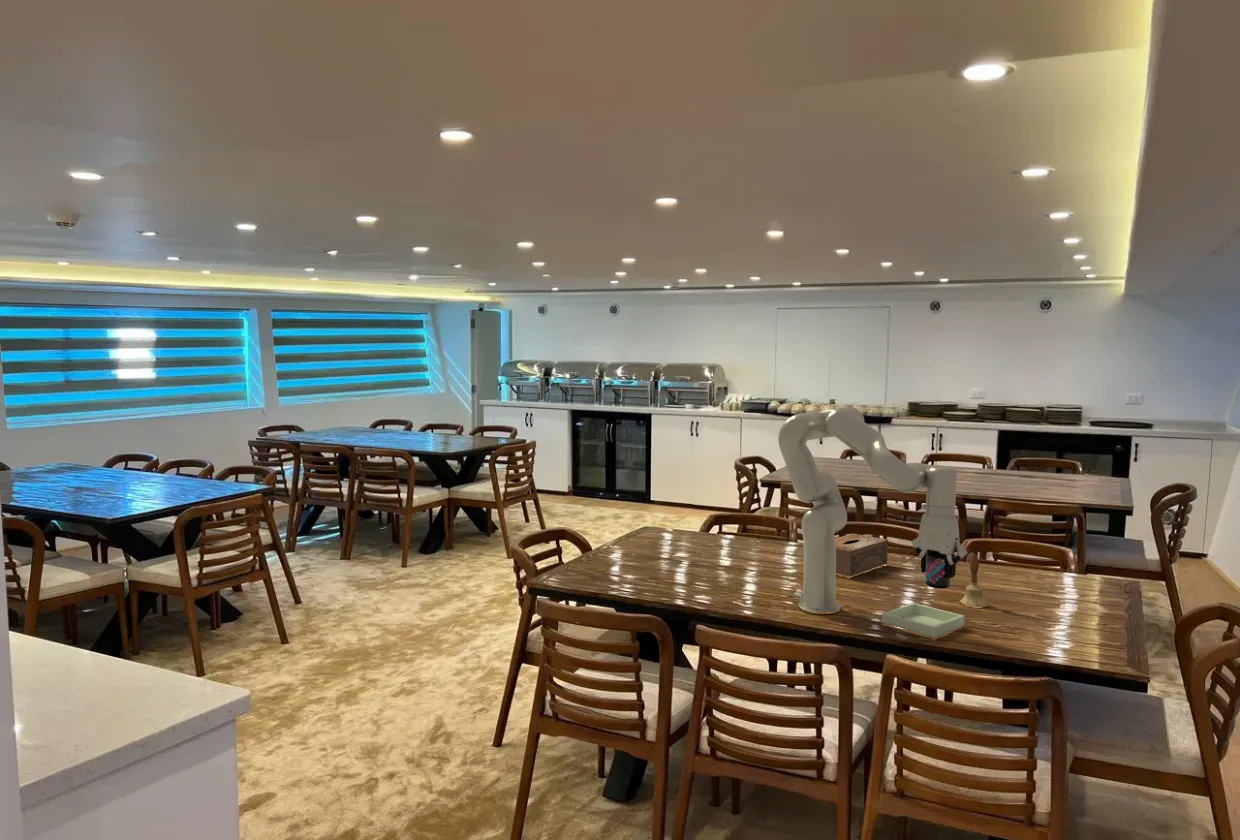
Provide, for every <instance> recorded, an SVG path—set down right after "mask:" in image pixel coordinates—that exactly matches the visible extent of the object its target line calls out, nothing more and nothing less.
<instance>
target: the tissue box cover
mask: <svg viewBox="0 0 1240 840" xmlns="http://www.w3.org/2000/svg"><path fill="white" fill-rule="evenodd" d="M834 540H835V545H836V573H838V574H842V575H846V576H852V575H855V574H858V573H861V572H864V571H867V570H870V569H872V568H875V567H878V566H881V565H884V564H887V565H888V548H889V544H888V541H889V540H888V539H887V538H886V539H885V538H880V537H874V536H869V535H868V536H867V535H862V534H857V533H850V534H846V535H843V536H839V537H836V538H835V537H834Z"/></svg>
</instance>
